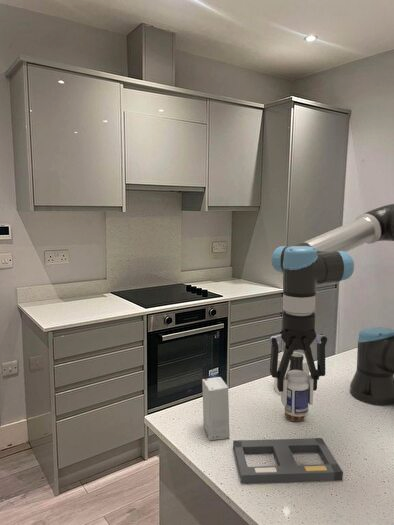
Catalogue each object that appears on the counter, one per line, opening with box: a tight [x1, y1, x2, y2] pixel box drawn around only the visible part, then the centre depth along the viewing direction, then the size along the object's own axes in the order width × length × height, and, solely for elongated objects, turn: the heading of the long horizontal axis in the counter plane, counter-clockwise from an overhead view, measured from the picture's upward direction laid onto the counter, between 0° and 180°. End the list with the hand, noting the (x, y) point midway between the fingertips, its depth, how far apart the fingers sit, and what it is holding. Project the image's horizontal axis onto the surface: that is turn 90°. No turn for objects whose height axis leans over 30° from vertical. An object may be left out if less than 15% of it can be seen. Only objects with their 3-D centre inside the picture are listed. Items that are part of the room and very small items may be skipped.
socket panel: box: [232, 437, 344, 485], centre depth 101 cm, size 24×14×2 cm, turn 93°
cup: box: [273, 351, 310, 396], centre depth 141 cm, size 12×12×12 cm
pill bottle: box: [284, 370, 309, 417], centre depth 99 cm, size 6×6×10 cm
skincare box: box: [201, 376, 230, 441], centre depth 115 cm, size 8×6×15 cm
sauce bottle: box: [284, 351, 307, 422], centre depth 122 cm, size 7×6×20 cm
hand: (296, 402), depth 100 cm, fingers closed on pill bottle, 6 cm apart
